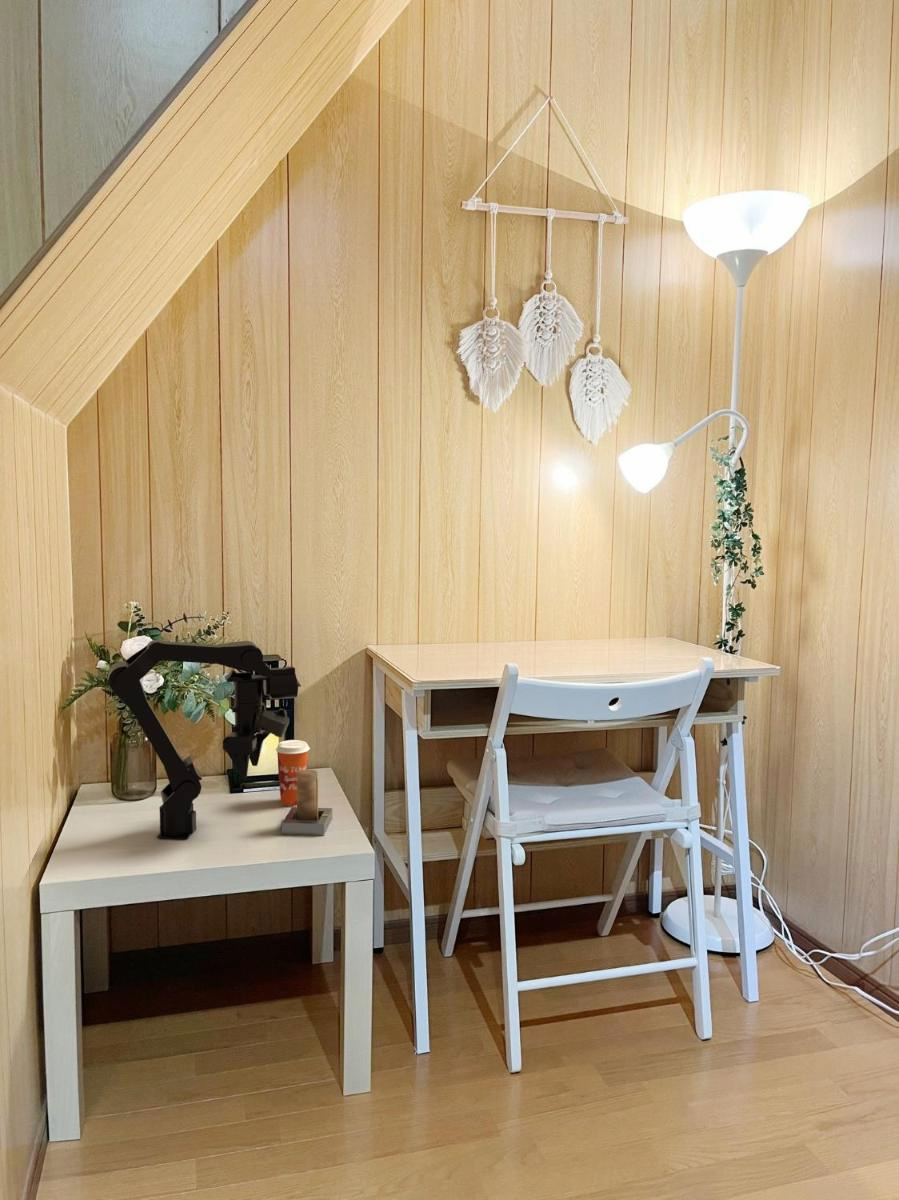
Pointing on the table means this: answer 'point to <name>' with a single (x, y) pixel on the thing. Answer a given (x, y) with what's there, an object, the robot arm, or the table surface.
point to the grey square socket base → (307, 823)
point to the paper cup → (291, 768)
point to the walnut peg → (307, 795)
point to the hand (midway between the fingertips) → (249, 771)
